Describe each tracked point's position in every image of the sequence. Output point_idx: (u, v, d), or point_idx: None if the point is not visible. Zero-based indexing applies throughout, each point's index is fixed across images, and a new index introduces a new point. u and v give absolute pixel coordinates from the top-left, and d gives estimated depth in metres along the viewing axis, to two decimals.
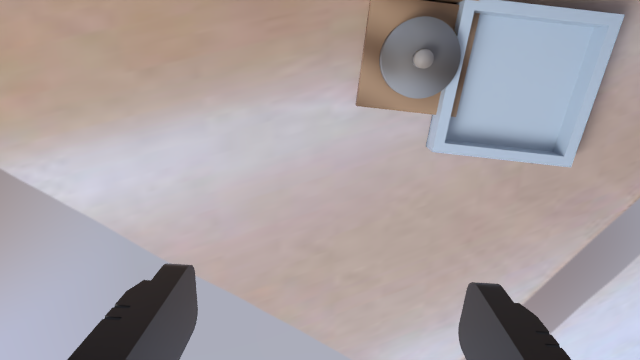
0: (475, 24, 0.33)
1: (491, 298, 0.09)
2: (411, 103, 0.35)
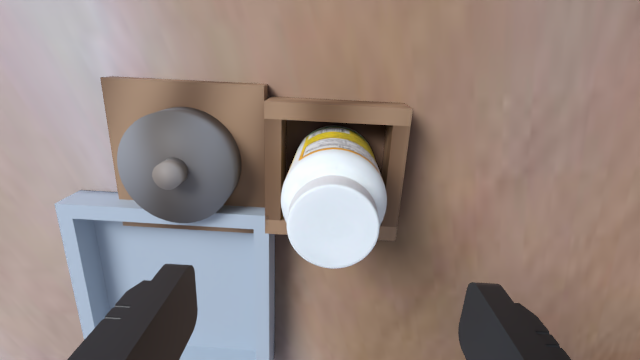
0: (244, 230, 0.25)
1: (491, 298, 0.09)
2: None
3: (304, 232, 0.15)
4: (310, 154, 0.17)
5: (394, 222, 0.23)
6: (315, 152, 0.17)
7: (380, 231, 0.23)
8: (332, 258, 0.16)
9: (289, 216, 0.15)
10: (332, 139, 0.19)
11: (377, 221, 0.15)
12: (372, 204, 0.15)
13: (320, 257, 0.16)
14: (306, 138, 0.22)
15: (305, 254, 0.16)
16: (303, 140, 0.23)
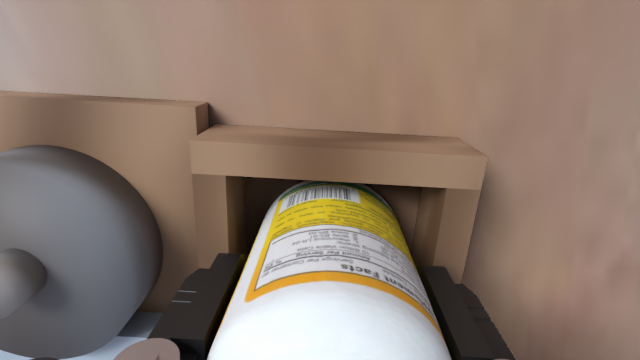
0: None
1: (433, 278, 0.10)
2: None
3: None
4: (271, 292, 0.07)
5: None
6: (283, 288, 0.07)
7: None
8: None
9: None
10: (326, 230, 0.09)
11: None
12: None
13: None
14: (278, 204, 0.12)
15: None
16: (273, 205, 0.12)
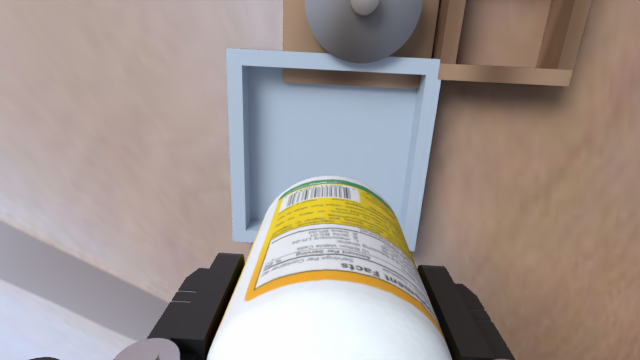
0: (405, 85, 0.25)
1: (433, 278, 0.10)
2: (296, 8, 0.23)
3: None
4: (271, 291, 0.07)
5: (571, 64, 0.23)
6: (283, 286, 0.07)
7: (555, 75, 0.23)
8: None
9: None
10: (326, 229, 0.09)
11: None
12: None
13: None
14: (278, 204, 0.12)
15: None
16: (273, 204, 0.12)
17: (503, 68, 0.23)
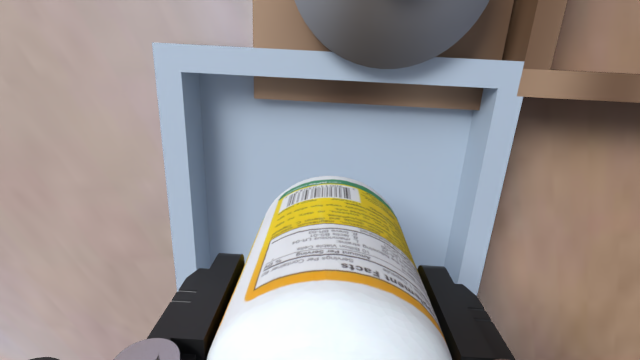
0: (457, 105, 0.15)
1: (433, 278, 0.10)
2: None
3: None
4: (271, 291, 0.07)
5: None
6: (283, 287, 0.07)
7: None
8: None
9: None
10: (326, 229, 0.09)
11: None
12: None
13: None
14: (278, 204, 0.12)
15: None
16: (273, 204, 0.12)
17: (633, 77, 0.13)
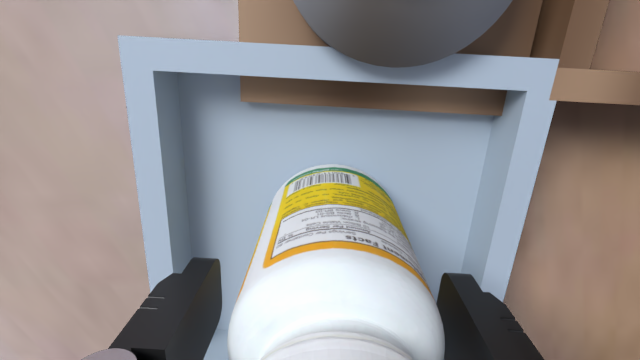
0: (476, 109, 0.13)
1: (461, 287, 0.09)
2: None
3: None
4: (286, 258, 0.08)
5: None
6: (297, 254, 0.08)
7: None
8: None
9: None
10: (331, 208, 0.10)
11: None
12: None
13: None
14: (285, 189, 0.13)
15: None
16: (280, 190, 0.13)
17: None
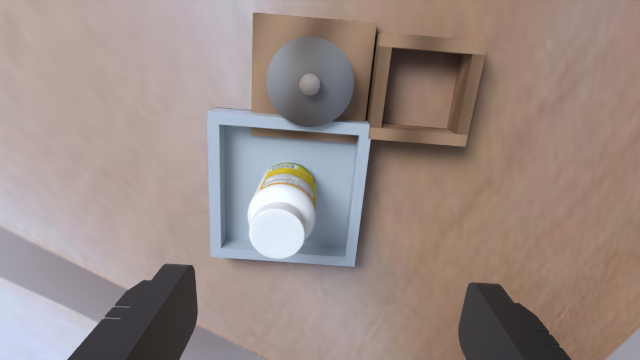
0: (346, 140, 0.32)
1: (491, 298, 0.09)
2: (261, 82, 0.30)
3: (259, 236, 0.25)
4: (266, 187, 0.27)
5: (466, 131, 0.30)
6: (269, 185, 0.27)
7: (455, 138, 0.30)
8: (276, 253, 0.25)
9: (250, 227, 0.25)
10: (283, 175, 0.29)
11: (303, 230, 0.25)
12: (300, 220, 0.25)
13: (269, 252, 0.25)
14: (268, 170, 0.32)
15: (260, 250, 0.25)
16: (266, 171, 0.32)
17: (416, 132, 0.30)
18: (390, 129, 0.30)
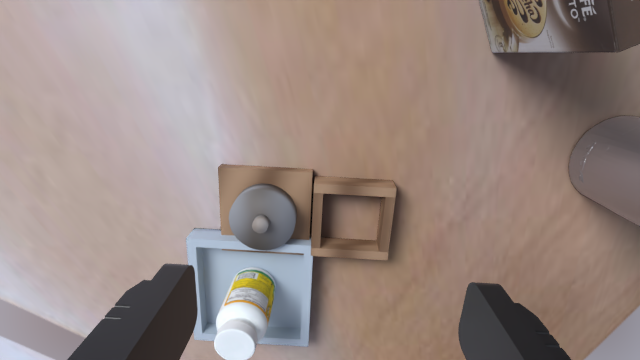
0: (296, 253, 0.41)
1: (491, 298, 0.09)
2: (227, 214, 0.39)
3: (222, 347, 0.34)
4: (229, 304, 0.36)
5: (386, 249, 0.39)
6: (231, 303, 0.36)
7: (378, 254, 0.39)
8: (235, 358, 0.34)
9: (215, 341, 0.34)
10: (243, 289, 0.38)
11: (253, 343, 0.34)
12: (251, 336, 0.34)
13: (230, 357, 0.34)
14: (235, 277, 0.41)
15: (223, 356, 0.34)
16: (235, 276, 0.41)
17: (348, 250, 0.39)
18: (327, 248, 0.39)
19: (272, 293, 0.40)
